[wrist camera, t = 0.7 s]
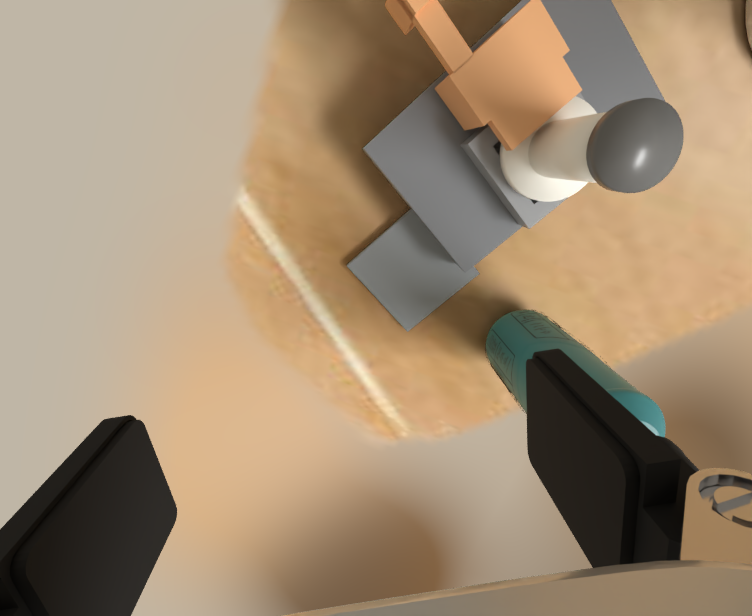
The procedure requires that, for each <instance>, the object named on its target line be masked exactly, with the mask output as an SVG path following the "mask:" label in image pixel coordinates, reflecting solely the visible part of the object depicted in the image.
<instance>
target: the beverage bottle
mask: <svg viewBox="0 0 752 616" xmlns="http://www.w3.org/2000/svg"><path fill="white" fill-rule="evenodd" d="M535 311H536V310H535ZM535 311H530V310H517V311H513V312H510V313H508V314H506V315H504V316H502V317H501V318H500V319H498V320H497V321H496V322H495V323H494V324H493V326H492V327H491V329H490V331H489V333H488V335H487V339H486V345H485V349H486V350H485V353H486V352H487V356H488V359H489V361H490V364H491V367H492V369H494V368H495V369H494V370H495V372H496V373H497V375H498V376H499V375H500V376H499V379H501V380H502V379H503V380H502V382H503V383H504V382H505V383H504V384H505V386H506V388H507V389H508V391H509V393H510V394H511V393H513V395H514V396H515V398H516V400H518V402H519V403H520V405H521V407H523V409H524V410H525V412H526V413H527V399H526V361H527V359H532V356H533V353H534V352H538V351H544V350H551V349H558V348H559V349H560V350H562V351H563V352H564V353H565V354H566V355H567V356H568V357H570V358H571V359H572V360H573V361H574V362H575V363H576V364H577V365H578V366H579V367H581V368H582V369H583V370H584V371H585V372H586V373H587V374H588V375H589V376H591V377H592V378H593V379H594V380H595V381H596V382H597V383H598V384H599V385H600V386H602V387H603V388H604V389H605V390H606V391H607V392H608V393H609V394H610V395H612V396H613V397H614V398H615V399H616V400H617V401H619V402H620V403H621V404H622V405H623V406H624V407H625V408H626V409H627V410H629V411H630V412H631V413H632V414H633V415H634V416H635V417H636V418H637V419H639V420H640V421H641V422H642V423H643V424H644V425H645V426H646V427H647V428H648V429H650V430H651V431H652V432H653V433H654V434H655V435H656V436H657V437H658V438H660V439H661V440H662V441H663V442H664V443H665V444H666V445H667V446H668V447H669V448H671V449H672V450H673V451H674V452H675V453H676V454H677V455H678V456H679V457H681V458H682V459H683V460H684V461H685V462H686V463H687V464H688V465H689V466H691V467H692V468H693V469H694V470H695V471H696V472H697V471H699V470H698V468H697V467H696V466H695V465H694V464H693V463H692V462H691V461H690V460H689V459H688V458H687V457H686V456H685V455H684V453H683V452H682V450H681V449H680V448H679V447H677V446H676V445H675V444H674V443H673V442H672V441H670V440H669V439H667V438H665V420H664V417H663V414H662V411H661V410H660V408H659V407H658V405H657V404H656V403H655V402H654V401H653V400H652V399H650V398H649V397H648V396H646V395H644V394H643V393H641V392H640V391H638V390H637V389H636V388H634V387H633V386H632V385H631V384H630V383H628V382H627V381H626V380H624V379H623V378H622V377H621V376H620V375H618V374H617V373H616V372H615V371H613V370H612V369H611V368H609V367H608V366H607V365H608V364H607V365H606V364H604V363H603V362H602V361H601V360H600V359H599V358H598V357H597V356H595V355H594V354H593V353H594V352H593V353H592V351H591V350H590V351H591V352H590V351H589V350H588V349H587V348H585V347H584V346H585V345H583V344H582V345H581V343H579V342H577V341H576V340H575V339H574V338H572V337H571V336H570V335H568V334H567V333H566V332H564V331H563V330H562V329H563V328H562V327H560V326H559V325H558V324H557V323H553V322H554V320H553V322H552V321H550V320H549V319H548V318H546V317H547V316H545V314H544V315H542V314H540V313H538V312H535ZM541 313H542V312H541ZM550 319H551V318H550ZM555 324H557V325H555ZM558 326H559V327H560V328H559V327H558ZM561 328H562V329H561ZM564 330H565V329H564ZM566 331H567V330H566ZM570 334H571V333H570ZM574 337H575V336H574ZM580 342H581V341H580ZM586 347H587V346H586ZM486 358H487V357H486ZM492 365H493V366H492ZM507 386H508V387H507ZM509 389H510V390H509ZM513 395H511V396H513ZM514 396H513V397H514ZM518 402H517V403H518ZM518 406H519V404H518Z"/></svg>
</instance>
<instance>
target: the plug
mask: <svg viewBox="0 0 752 616" xmlns="http://www.w3.org/2000/svg"><path fill="white" fill-rule="evenodd" d="M682 145H683V126H682V122H681V119H680V117H679V115H678V113H677V112H676V110H675V109H674V108H673V107H672V106H671V105H670V104H668V103H667V102H665V101H663V100H660V99H656V98H641V99H636V100H631V101H627V102H623V103H621V104H618V105H616V106H615V107H613V108H612V109H610V110H609V111H607V112H603V113H598V114H597V113H596V111H595V110H594V108H593V107H592V106H591V105H590V104H589V103H587V102H586V101H585V100H583V99H581V98H579V97H576V96H575V97H574V98H573V99H572V100H570V101H569V102H568V103H567V104H566V105H565V106H563V107H562V108H561V109H560V110H559V111H558V112H556V113H555V114H554V115H553V116H552V117H551V118H549V119H548V120H547V121H546V122H545V123H544V124H542V125H541V126H540V127H539V128H538V129H537V130H535V131H534V132H533V133H532V134H531V135H530V136H528V137H527V138H526V139H525V140H524V141H523V142H521V143H520V144H519V145H518V146H517V147H516V148H514V149H513V150H510V151H506V149H505V148H504V147H503V145H502V144H501V146H500V164H501V169H502V172H503V175H504V177H505V179H506V181H507V182H508V184H509V185H510V186H511V187H512V189H514V190H515V191H516V192H517V193H519V194H520V195H522V196H524V197H526V198H529V199H533V200H537V201H543V202H552V201H558V200H562V199H565V198H567V197H569V196H571V195H573V194H575V193H576V192H578V191H579V190H580V189H582V188H583V187H584V186H585V185H586V184H587V183H588V182H593V183H598V184H599V185H600V186H602V187H603V188H605V189H607V190H611V191H616V192H624V193H636V192H641V191H645V190H647V189H649V188H651V187H653V186H655V185H656V184H658V183H659V182H660V181H662V180H663V179H664V178H665V177H666V176H667V175H668V174H669V172H670V171H671V170H672V169H673V167H674V165H675V164H676V162H677V160H678V158H679V155H680V152H681V149H682Z"/></svg>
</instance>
